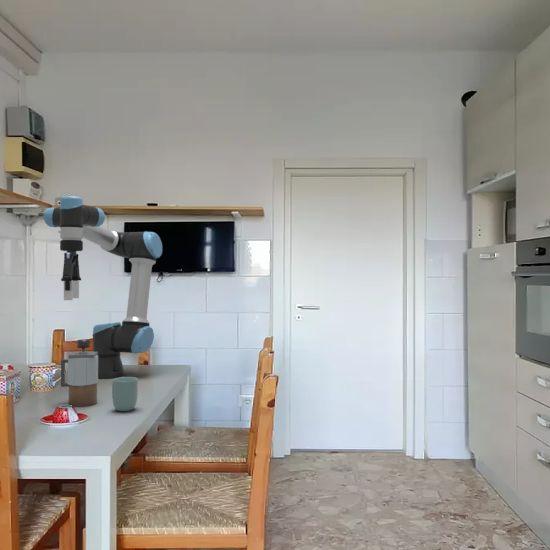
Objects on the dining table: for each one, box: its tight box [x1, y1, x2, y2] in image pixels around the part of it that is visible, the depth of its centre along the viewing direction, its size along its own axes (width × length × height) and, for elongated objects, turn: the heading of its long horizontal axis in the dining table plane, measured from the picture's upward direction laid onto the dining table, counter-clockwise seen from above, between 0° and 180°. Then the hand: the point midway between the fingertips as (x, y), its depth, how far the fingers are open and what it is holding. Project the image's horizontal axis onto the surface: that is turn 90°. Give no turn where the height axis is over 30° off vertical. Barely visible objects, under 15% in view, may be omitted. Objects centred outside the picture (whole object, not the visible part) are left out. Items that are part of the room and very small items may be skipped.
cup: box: [111, 376, 139, 412], centre depth 160 cm, size 8×8×10 cm
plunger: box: [76, 338, 91, 354], centre depth 168 cm, size 7×7×14 cm
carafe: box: [60, 351, 99, 408], centre depth 168 cm, size 9×12×17 cm
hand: (71, 299), depth 177 cm, fingers open, 13 cm apart
